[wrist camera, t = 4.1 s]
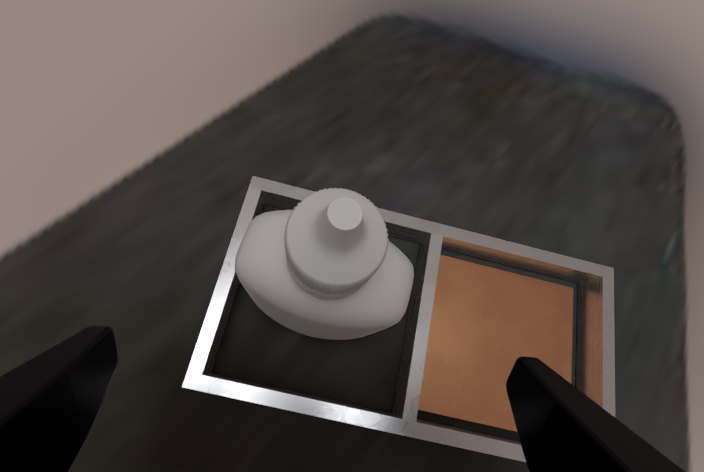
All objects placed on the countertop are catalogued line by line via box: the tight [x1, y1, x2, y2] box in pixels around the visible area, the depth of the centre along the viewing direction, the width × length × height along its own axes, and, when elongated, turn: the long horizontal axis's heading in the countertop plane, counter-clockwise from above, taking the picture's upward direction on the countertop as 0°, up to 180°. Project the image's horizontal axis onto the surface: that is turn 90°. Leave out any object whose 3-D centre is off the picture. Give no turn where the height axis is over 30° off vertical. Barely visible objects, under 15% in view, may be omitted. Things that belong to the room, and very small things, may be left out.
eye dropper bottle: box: [235, 188, 414, 340], centre depth 13 cm, size 4×6×12 cm
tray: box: [182, 176, 615, 462], centre depth 18 cm, size 19×10×2 cm, turn 78°
